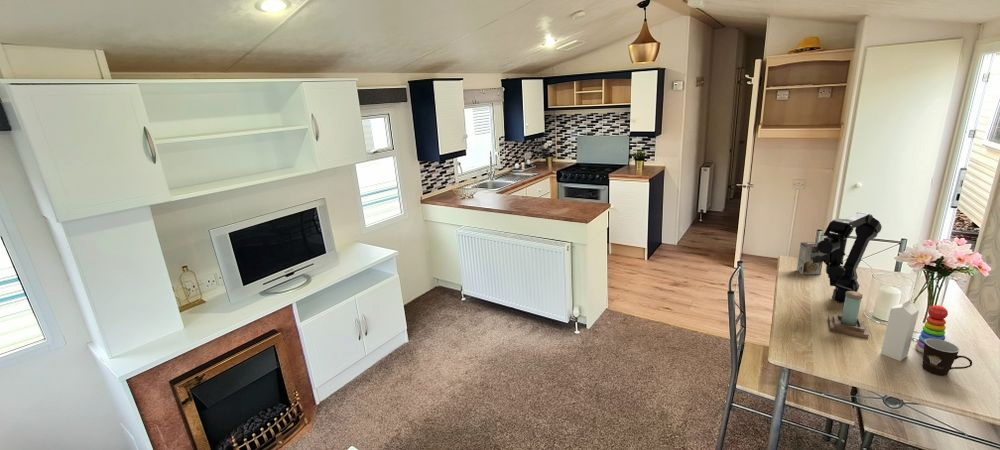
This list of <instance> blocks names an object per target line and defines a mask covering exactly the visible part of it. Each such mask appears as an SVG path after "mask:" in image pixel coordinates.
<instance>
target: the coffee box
mask: <svg viewBox="0 0 1000 450" xmlns="http://www.w3.org/2000/svg"><path fill="white" fill-rule="evenodd" d="M819 242H820V241H815V242H812V241H811V242H808V241H807V242H800V246H799V253H798V259H797V265H796V271H797V272H798V271H799V273H800V274H801V275H802V274H813V275H814V274H817V276H818V275H822V269H823V264H824V262H818V263H813V261H812V257H811V254H812V253H818V252H820V251H819V250H818V248H817V245H818V243H819Z"/></svg>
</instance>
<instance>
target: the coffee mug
mask: <svg viewBox="0 0 1000 450" xmlns="http://www.w3.org/2000/svg"><path fill="white" fill-rule="evenodd" d="M959 352H960V347H958V346H957V345H955V344H954V343H953V342H952V343H951V342H949V341H947V340H945V341H944V340H940V339H933V338H929V339H925V340H924V352H923V353H922V363H921V365H922V366H921V367H922V369H923V370H924V371H926V372H928V373H929V374H932V375H935V376H941V377H943V376H947V375H948V374H949V371H951V370H963V369H968V368H971V367H972V366H973V361H972V360H971V359H970V358H969V357H967V356H965V355H958V354H959ZM959 358H961V359H963V358H964V359H966V360H967V361H969V365H965V366H953V364H954V362H955V360H959Z"/></svg>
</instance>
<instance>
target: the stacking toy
mask: <svg viewBox="0 0 1000 450" xmlns="http://www.w3.org/2000/svg"><path fill="white" fill-rule="evenodd" d="M927 312H928V315H929V316H927V317H926V321H925V322H924V325H923V326H922V330H921V332H920V334H919V336H918V339H917V341H916V343H915V345H914V347H915V349H916V351H917V352H920V353H922V354H923V352H924V340H925V339H929V338H933V339H940V340H944V341H946V331H945V330H946V323H947V321H946V318H947V317H948V315H949V314H948V313H949V312H948V309H946V307H944V306H943V305H936V304H935V305H931V306H930V307H929V308H928V309H927Z"/></svg>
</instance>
